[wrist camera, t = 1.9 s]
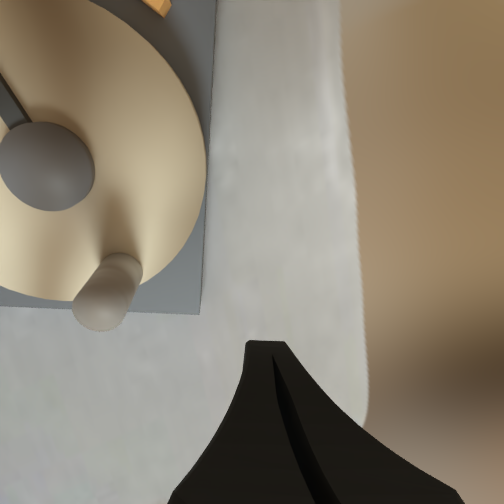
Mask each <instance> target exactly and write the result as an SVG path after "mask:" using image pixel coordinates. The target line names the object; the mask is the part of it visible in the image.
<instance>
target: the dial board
mask: <svg viewBox="0 0 504 504" xmlns="http://www.w3.org/2000/svg"><path fill="white" fill-rule="evenodd" d="M88 1H90V2H92V3H94V4H96V5H98V6H100V7H102V8H104V9H106V10H107V11H109V12H110V13H112V14H113V15H115V16H116V17H118V18H119V19H121V20H122V21H124V22H125V23H127V24H128V25H129V26H130V27H131V28H133V29H134V30H135V31H136V32H137V33H138V34H140V35H141V36H142V37H143V38H144V39H145V40H147V41H148V42H149V43H150V44H151V45H152V46H153V47H154V48H155V49H156V50H157V51H158V52H159V53H160V54H161V55H162V57H163V58H164V59H165V60H166V61H167V62H168V63H169V65H170V66H171V67H172V69H173V70H174V72H175V73H176V74H177V76H178V77H179V79H180V80H181V82H182V84H183V85H184V87H185V89H186V91H187V93H188V94H189V96H190V98H191V100H192V103H193V105H194V108H195V110H196V113H197V115H198V117H199V121H200V125H201V128H202V132H203V136H204V142H205V149H206V163H207V175H208V156H209V138H210V119H211V100H212V82H213V63H214V44H215V26H216V7H217V0H88ZM207 175H206V183H205V191H204V196H203V201H202V204H201V208H200V212H199V216H198V218H197V221H196V223H195V226H194V228H193V230H192V232H191V234H190V236H189V238H188V239H187V241H186V243H185V244H184V246H183V247H182V249H181V250H180V251H179V253H178V254H177V255H176V256H175V258H174V259H173V260H172V261H171V262H170V263H169V264H168V265H167V266H166V267H165V268H164V269H162V270H161V271H160V272H159V273H157V274H156V275H155V276H153V277H152V278H150V279H149V280H148V281H146V282H144V283H142V284H140V285H139V287H138V289H137V291H136V293H135V295H134V297H133V300H132V302H131V304H130V306H129V308H128V311H127V312H144V313H166V314H189V315H199V313H200V304H201V287H202V269H203V250H204V231H205V213H206V194H207ZM72 303H73V301H59V300H49V299H43V298H38V297H33V296H29V295H25V294H22V293H19V292H16V291H13V290H9V289H7V288H5V287H2V286H0V306H8V307H31V308H53V309H72Z"/></svg>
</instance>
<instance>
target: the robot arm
mask: <svg viewBox="0 0 504 504" xmlns="http://www.w3.org/2000/svg"><path fill="white" fill-rule="evenodd" d="M167 504H465V503H464V502H463V500H462V499H461V497H460V496H459V494H458V493H457V491H456V490H455V489H453V488H451V487H450V486H448V485H446V484H444V483H443V482H441V481H439V480H437V479H436V478H434V477H432V476H431V475H428V474H427V473H425V472H424V471H422V470H420V469H418V468H417V467H415V466H414V465H412V464H411V463H409V462H408V461H406V460H405V459H403V458H402V457H400V456H399V455H397V454H395V453H394V452H393V451H391V450H390V449H389V448H387V447H386V446H384V445H383V444H382V443H380V442H379V441H378V440H377V439H375V438H374V437H373V436H371V435H370V434H369V433H368V432H366V431H365V430H364V429H363V428H361V427H360V426H359V425H358V424H357V423H356V422H354V421H353V420H352V419H351V418H350V417H349V416H348V415H347V414H346V413H345V412H343V411H342V410H341V409H340V408H339V407H338V406H337V405H336V404H335V403H334V402H333V401H332V400H331V399H330V398H329V396H328V395H327V394H326V393H325V392H324V391H323V390H322V389H321V388H320V386H319V385H318V384H317V383H316V382H315V380H314V379H313V378H312V377H311V376H310V374H309V373H308V372H307V371H306V369H305V368H304V367H303V366H302V364H301V363H300V362H299V360H298V359H297V358H296V356H295V355H294V354H293V352H292V351H291V349H290V348H289V347H288V345H287V344H286V343H285V342H284V341H258V340H249V341H248V342H246V345H245V354H244V363H243V371H242V375H241V378H240V382H239V384H238V387H237V390H236V392H235V395H234V397H233V400H232V402H231V404H230V406H229V409H228V411H227V413H226V415H225V417H224V419H223V421H222V422H221V424H220V426H219V428H218V430H217V431H216V433H215V435H214V436H213V438H212V440H211V441H210V443H209V445H208V446H207V447H206V449H205V450H204V452H203V453H202V455H201V456H200V458H199V459H198V461H197V462H196V463H195V465H194V466H193V467H192V469H191V470H190V471H189V473H188V474H187V475H186V476H185V477H184V479H183V480H182V481H181V482H180V484H179V485H178V486H177V487H176V488H175V490H174V491H173V492H172V495H171V497H170V499H169V501H168V503H167Z"/></svg>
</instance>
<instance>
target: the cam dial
mask: <svg viewBox="0 0 504 504" xmlns="http://www.w3.org/2000/svg"><path fill="white" fill-rule="evenodd" d="M206 175H207V163H206V149H205V142H204V136H203V132H202V128H201V125H200V121H199V117H198V115H197V113H196V110H195V108H194V105H193V103H192V100H191V98H190V96H189V94H188V93H187V91H186V89H185V87H184V85H183V84H182V82H181V80H180V79H179V77H178V76H177V74H176V73H175V72H174V70H173V69H172V67H171V66H170V65H169V63H168V62H167V61H166V60H165V59H164V58H163V57H162V55H161V54H160V53H159V52H158V51H157V50H156V49H155V48H154V47H153V46H152V45H151V44H150V43H149V42H148V41H147V40H145V39H144V38H143V37H142V36H141V35H140V34H138V33H137V32H136V31H135V30H134V29H133V28H131V27H130V26H129V25H128V24H127V23H125V22H124V21H122V20H121V19H119V18H118V17H116V16H115V15H113V14H112V13H110V12H109V11H107V10H106V9H104V8H102V7H100V6H98V5H96V4H94V3H92V2H90V1H88V0H0V286H2V287H5V288H7V289H9V290H13V291H16V292H19V293H22V294H25V295H29V296H33V297H38V298H43V299H49V300H59V301H73V303H72V311H73V314H74V316H75V318H76V320H77V321H78V322H79V323H80V324H81V325H83V326H84V327H86V328H88V329H90V330H93V331H99V332H104V331H109V330H112V329H114V328H116V327H118V326H119V325H120V324H121V323H122V321H123V319H124V317H125V315H126V313H127V311H128V308H129V306H130V304H131V302H132V300H133V297H134V295H135V293H136V291H137V289H138V287H139V285H140V284H142V283H144V282H146V281H148V280H149V279H150V278H152V277H153V276H155V275H156V274H157V273H159V272H160V271H161V270H162V269H164V268H165V267H166V266H167V265H168V264H169V263H170V262H171V261H172V260H173V259H174V258H175V256H176V255H177V254H178V253H179V251H180V250H181V249H182V247H183V246H184V244H185V243H186V241H187V239H188V238H189V236H190V234H191V232H192V230H193V228H194V226H195V223H196V221H197V218H198V216H199V212H200V208H201V204H202V201H203V196H204V191H205V183H206Z"/></svg>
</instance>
